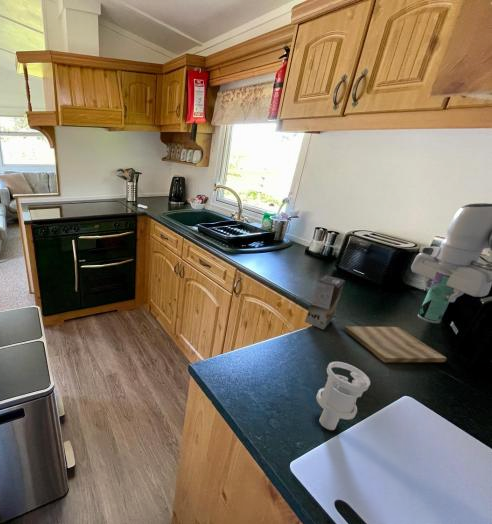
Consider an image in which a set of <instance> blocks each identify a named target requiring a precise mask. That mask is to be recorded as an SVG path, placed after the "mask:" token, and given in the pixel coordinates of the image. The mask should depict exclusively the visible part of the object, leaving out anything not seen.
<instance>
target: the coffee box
mask: <svg viewBox="0 0 492 524" xmlns="http://www.w3.org/2000/svg"><path fill="white" fill-rule="evenodd" d="M345 283H346V280H345V279H341V278H338V277H334V276H331V275H328V274H325V275H324V276H322V277H321V278H319V280H317V282H316V286H315V289H314V292H313V295H312V298H311V301H310V304H309V307H308V310H307V314H306V316H305V319H304V323H306V324H308V325H311V326H313V327H316V328H319V329H321V330H325V329H326V327H327V326H328V325H329V324H330V323H331V322H332V319H333V317H334V314H335V311H336V308H337V306H338V302H339V300H340V297H341V295H342V292H343V289H344V286H345Z"/></svg>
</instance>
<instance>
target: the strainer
mask: <svg viewBox="0 0 492 524" xmlns="http://www.w3.org/2000/svg"><path fill="white" fill-rule="evenodd" d="M333 368H339V369H343V370H347V371H349V372H350V373H349V375H350V376H351V378H353V379H352V380H351V382H350V381H349V377H348V376H344V375H341V374H337V373H335V372H333V370H332V369H333ZM326 374H327V377H326V378H327V380H326V382H325V385H324V387H322V388H320V389H318V392H317V394H316V397H315V398H316V402H317V404H318V405H319V406H320V407H321V408H322V409H323V411H322V412H321V415H320V417H319V418H318V419H319V424H320V425H321V426H322V427H323V428H325V429H326V430H329V431H335V430H336V428H337V426H338V424H339V421H340V420H353V419H355V417H356V415H357V413H358V407H357V405H356V403H357V400H358V398H361V397H362V396H363V393H364V392H366V391H368V389H369V387H370V386H371V380H370V377H369V376H368V375H367V374H366V373H365V372H364V371H362V370H361V369H359V368H357V366H354V365H352V364H349V363H347V362H343V361H331V362H329V364H328V365H327V368H326Z"/></svg>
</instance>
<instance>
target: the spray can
mask: <svg viewBox="0 0 492 524" xmlns="http://www.w3.org/2000/svg"><path fill="white" fill-rule="evenodd" d="M450 274H453V273H452V272H451V271H450V270H448V269H446V268H439V270H438V271H437V273H436V275H435V278H434V280H433V281H432V284H431V286H430V289H429V291H428V292H427V293H426V295H425V297H424V300H423V302H422V304H421V307H420V309H419V312H418V314H417V317H418V318H419V319H421V320H422V321H425V322H428V323H430V324H431V323H432V324H439V323H441V321H442V319H443V316H444V314H445V312H446V310H447V308H448V306H449V304H450V302H449V301H447V300H445V298H446V296H447V295H452V294H454V293H455V292H453V290H454V288H451V287H449V286H447V285H446V283H447V281H448V279H449V277H450Z"/></svg>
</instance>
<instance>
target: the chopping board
mask: <svg viewBox="0 0 492 524" xmlns="http://www.w3.org/2000/svg"><path fill="white" fill-rule="evenodd" d="M343 331H344V332H346V333H347V334H348V335H349V336H351V338H353V339H354V340H356V341H357V342H358V343H359V344H361V345H362V346H363V347H364V348H366V349H367V350H368V351H369V352H371V354H373V355H374V356H375V357H377V358H378V359H379V360H380V361H382V362H383V363H445V362H446V361H447V359H448V358H447V357H446V356H445V355H443V354H442V353H440V352H438V351H437V350H435V349H433V348H432V347H431V346H429V345H427V344H426V343H424V342H423V341H421V340H420V339H418V338H416V337H414V336H413V335H411V334H410V333H409V332H408V331H405V330H404V329H402V328H400V327H399V326H353V325H350V326H349V325H348V326H347V325H345V327H344V329H343Z"/></svg>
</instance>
